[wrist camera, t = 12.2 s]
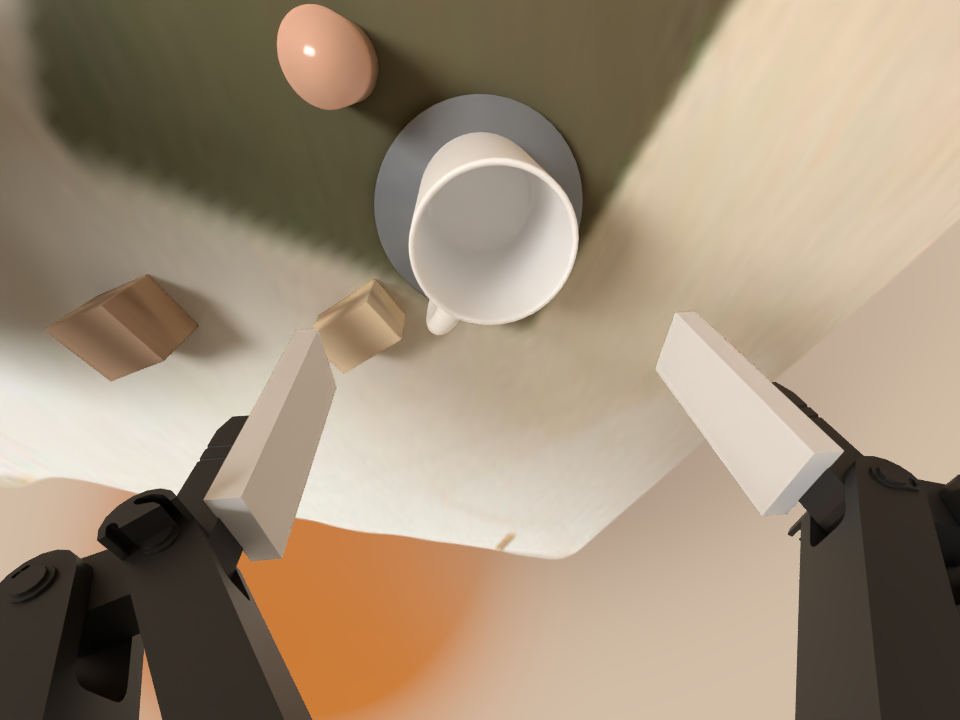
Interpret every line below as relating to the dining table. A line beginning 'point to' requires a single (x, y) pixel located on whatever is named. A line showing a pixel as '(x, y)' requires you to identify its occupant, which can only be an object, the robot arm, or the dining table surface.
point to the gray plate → (441, 127)
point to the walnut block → (125, 328)
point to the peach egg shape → (326, 57)
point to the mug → (489, 234)
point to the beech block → (360, 326)
